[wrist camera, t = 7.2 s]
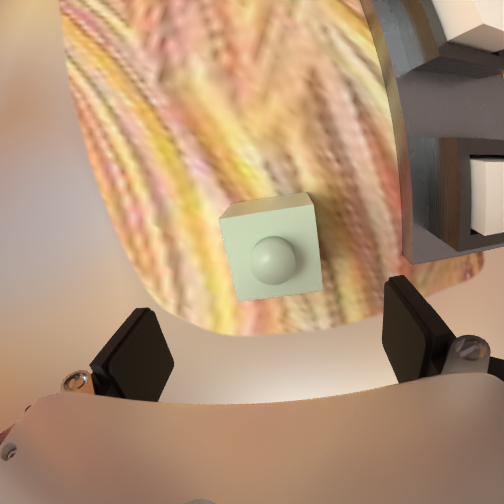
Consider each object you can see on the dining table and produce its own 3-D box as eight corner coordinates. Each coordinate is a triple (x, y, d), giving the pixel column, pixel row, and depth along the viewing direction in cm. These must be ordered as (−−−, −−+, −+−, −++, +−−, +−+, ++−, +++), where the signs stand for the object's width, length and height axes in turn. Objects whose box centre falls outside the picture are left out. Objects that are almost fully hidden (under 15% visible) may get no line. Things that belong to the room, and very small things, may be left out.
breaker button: (417, -6, 9) (452, -39, 4) (464, 6, 8) (503, -17, 4) (437, 46, 10) (483, 23, 6) (482, 55, 10) (529, 42, 5)
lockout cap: (231, 203, 20) (213, 225, 14) (306, 191, 19) (316, 209, 14) (245, 271, 21) (234, 312, 16) (315, 261, 21) (325, 300, 15)
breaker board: (351, -20, 12) (370, -60, 7) (462, 0, 11) (497, -21, 5) (402, 254, 20) (437, 291, 14) (499, 237, 18) (540, 262, 12)
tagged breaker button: (440, 154, 15) (485, 161, 10) (480, 154, 14) (526, 162, 10) (442, 213, 16) (484, 235, 11) (482, 208, 16) (524, 228, 11)
